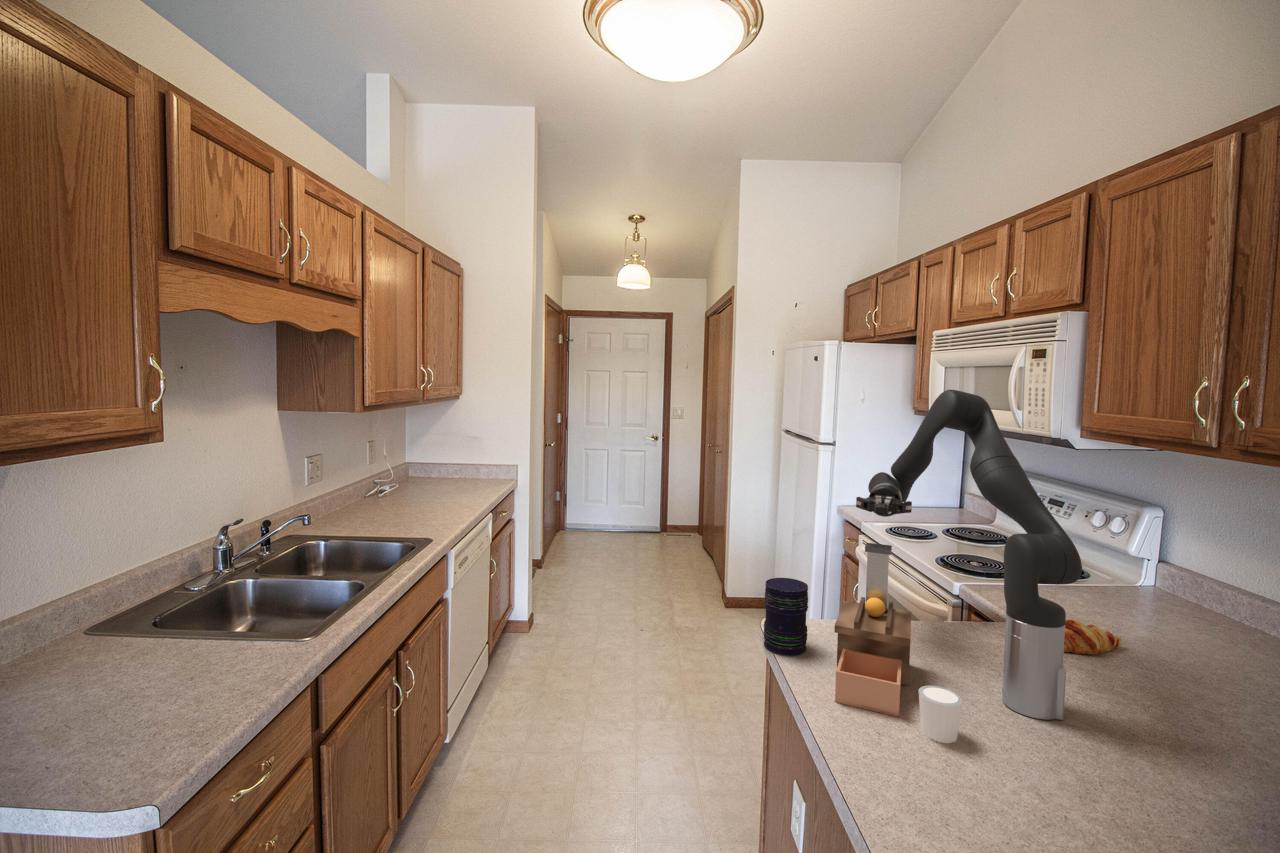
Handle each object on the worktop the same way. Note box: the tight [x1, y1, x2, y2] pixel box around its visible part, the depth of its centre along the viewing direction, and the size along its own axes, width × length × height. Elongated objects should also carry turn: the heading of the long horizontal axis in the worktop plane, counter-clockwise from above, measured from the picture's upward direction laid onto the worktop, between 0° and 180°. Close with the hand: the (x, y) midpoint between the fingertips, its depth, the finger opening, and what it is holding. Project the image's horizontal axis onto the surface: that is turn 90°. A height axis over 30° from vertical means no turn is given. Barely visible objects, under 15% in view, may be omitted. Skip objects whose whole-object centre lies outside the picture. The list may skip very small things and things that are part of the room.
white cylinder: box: [918, 685, 964, 744], centre depth 99 cm, size 7×7×7 cm
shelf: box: [833, 596, 912, 686], centre depth 120 cm, size 14×16×14 cm
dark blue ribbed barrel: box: [763, 577, 809, 657], centre depth 132 cm, size 10×10×15 cm
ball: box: [865, 598, 885, 617], centre depth 121 cm, size 4×4×4 cm
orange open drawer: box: [834, 649, 902, 718], centre depth 111 cm, size 11×11×6 cm
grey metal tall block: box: [864, 542, 893, 612], centre depth 124 cm, size 5×4×14 cm
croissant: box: [1064, 619, 1124, 655], centre depth 135 cm, size 21×10×8 cm, turn 93°
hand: (881, 511), depth 129 cm, fingers closed
